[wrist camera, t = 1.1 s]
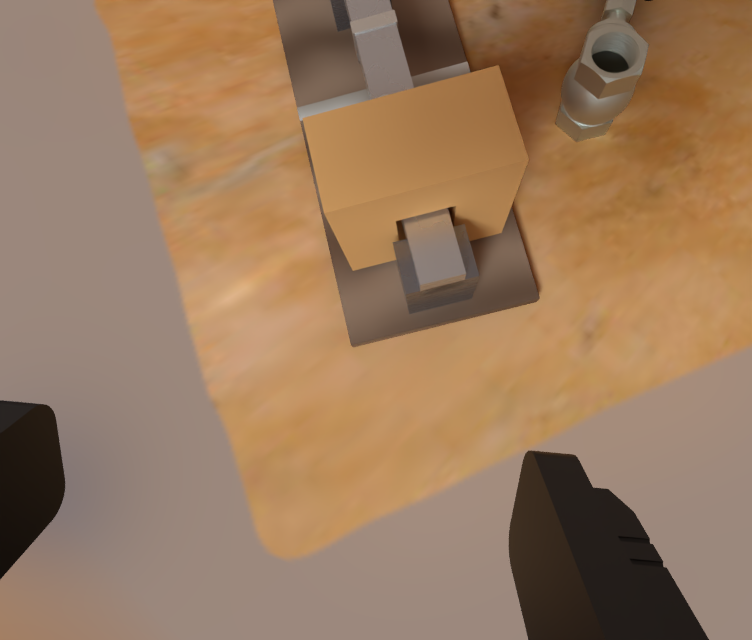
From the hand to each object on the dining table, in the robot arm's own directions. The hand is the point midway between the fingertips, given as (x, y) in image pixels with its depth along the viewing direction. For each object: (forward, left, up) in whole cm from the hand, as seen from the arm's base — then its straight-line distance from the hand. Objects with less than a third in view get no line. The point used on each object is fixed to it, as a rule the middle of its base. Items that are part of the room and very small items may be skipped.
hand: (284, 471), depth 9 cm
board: (-17, -10, -25) cm, 32 cm away
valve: (-29, -1, -25) cm, 38 cm away
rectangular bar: (-17, -10, -25) cm, 32 cm away
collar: (-13, -6, -23) cm, 27 cm away
